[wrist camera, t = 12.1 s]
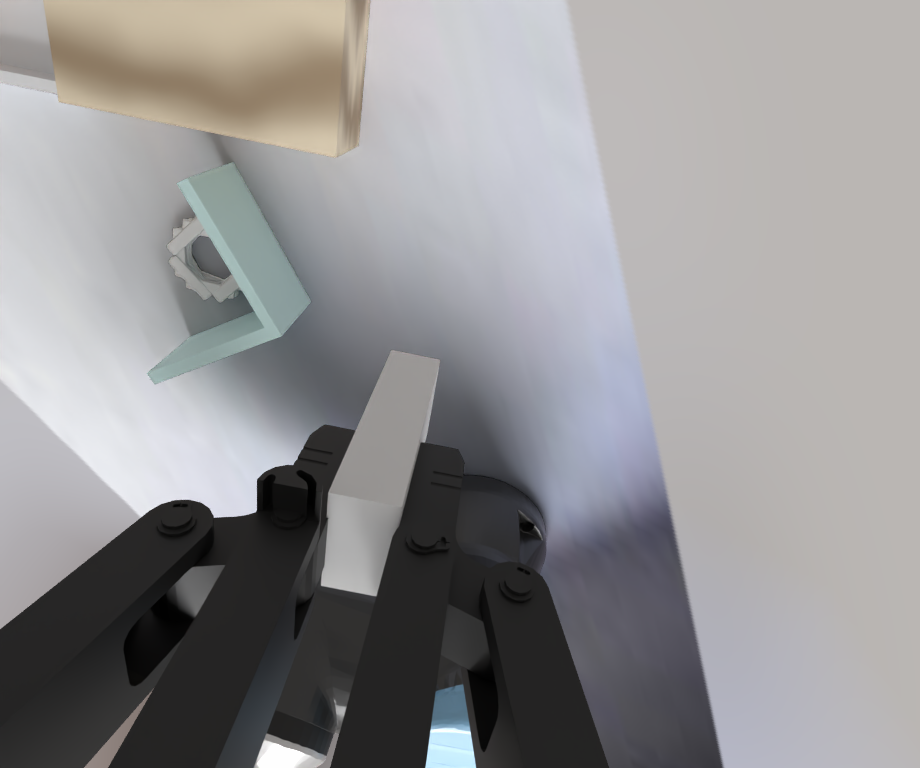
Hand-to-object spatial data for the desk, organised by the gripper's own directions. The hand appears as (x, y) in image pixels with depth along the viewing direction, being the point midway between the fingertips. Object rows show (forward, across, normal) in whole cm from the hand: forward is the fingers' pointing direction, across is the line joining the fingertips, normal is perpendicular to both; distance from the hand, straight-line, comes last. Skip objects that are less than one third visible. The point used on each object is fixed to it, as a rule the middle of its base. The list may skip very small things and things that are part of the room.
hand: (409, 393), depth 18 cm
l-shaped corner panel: (+30, +20, +9) cm, 37 cm away
